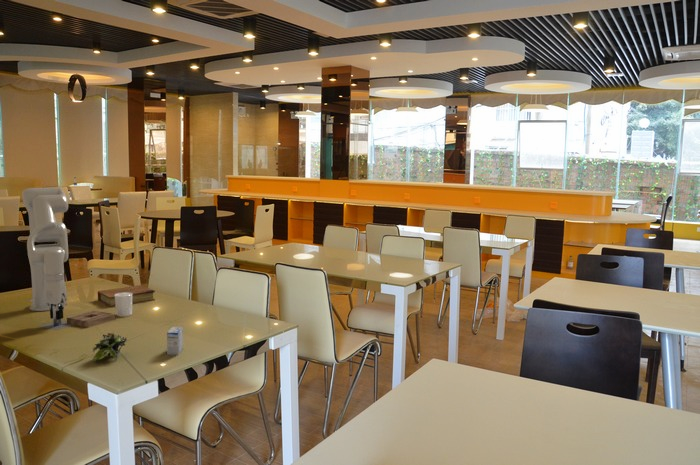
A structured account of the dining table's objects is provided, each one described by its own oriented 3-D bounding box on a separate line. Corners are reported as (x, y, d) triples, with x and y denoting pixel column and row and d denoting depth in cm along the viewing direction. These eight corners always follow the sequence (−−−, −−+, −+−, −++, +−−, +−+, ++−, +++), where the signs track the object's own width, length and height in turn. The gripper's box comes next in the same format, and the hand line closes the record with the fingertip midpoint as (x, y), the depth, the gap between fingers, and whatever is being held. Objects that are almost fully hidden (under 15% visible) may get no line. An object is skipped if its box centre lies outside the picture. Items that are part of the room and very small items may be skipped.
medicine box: (171, 348, 219) (171, 326, 218) (183, 348, 220) (182, 326, 219) (167, 355, 212) (166, 332, 211) (179, 354, 212) (178, 332, 211)
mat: (37, 327, 246) (37, 326, 246) (58, 321, 255) (58, 320, 255) (56, 330, 240) (55, 329, 240) (76, 324, 249) (76, 324, 249)
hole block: (67, 324, 251) (66, 317, 250) (93, 316, 263) (93, 310, 263) (88, 328, 244) (88, 321, 244) (114, 320, 257) (114, 314, 257)
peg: (51, 325, 247) (50, 303, 246) (58, 323, 250) (57, 301, 248) (56, 326, 246) (55, 304, 244) (62, 324, 248) (61, 302, 247)
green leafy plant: (109, 369, 211) (123, 339, 216) (123, 371, 204) (137, 340, 209) (82, 358, 204) (97, 327, 209) (95, 360, 197) (110, 328, 202)
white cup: (136, 312, 270) (135, 292, 269) (128, 317, 262) (127, 296, 261) (120, 312, 271) (119, 292, 270) (112, 316, 263) (111, 295, 262)
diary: (141, 295, 310) (141, 284, 309) (155, 301, 296) (154, 290, 295) (97, 301, 294) (97, 290, 294) (110, 308, 281) (109, 296, 280)
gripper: (34, 277, 245) (36, 318, 247) (59, 280, 238) (61, 323, 240) (50, 274, 252) (52, 314, 254) (74, 277, 245) (77, 318, 247)
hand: (56, 318), depth 247 cm, fingers closed on peg, 3 cm apart
